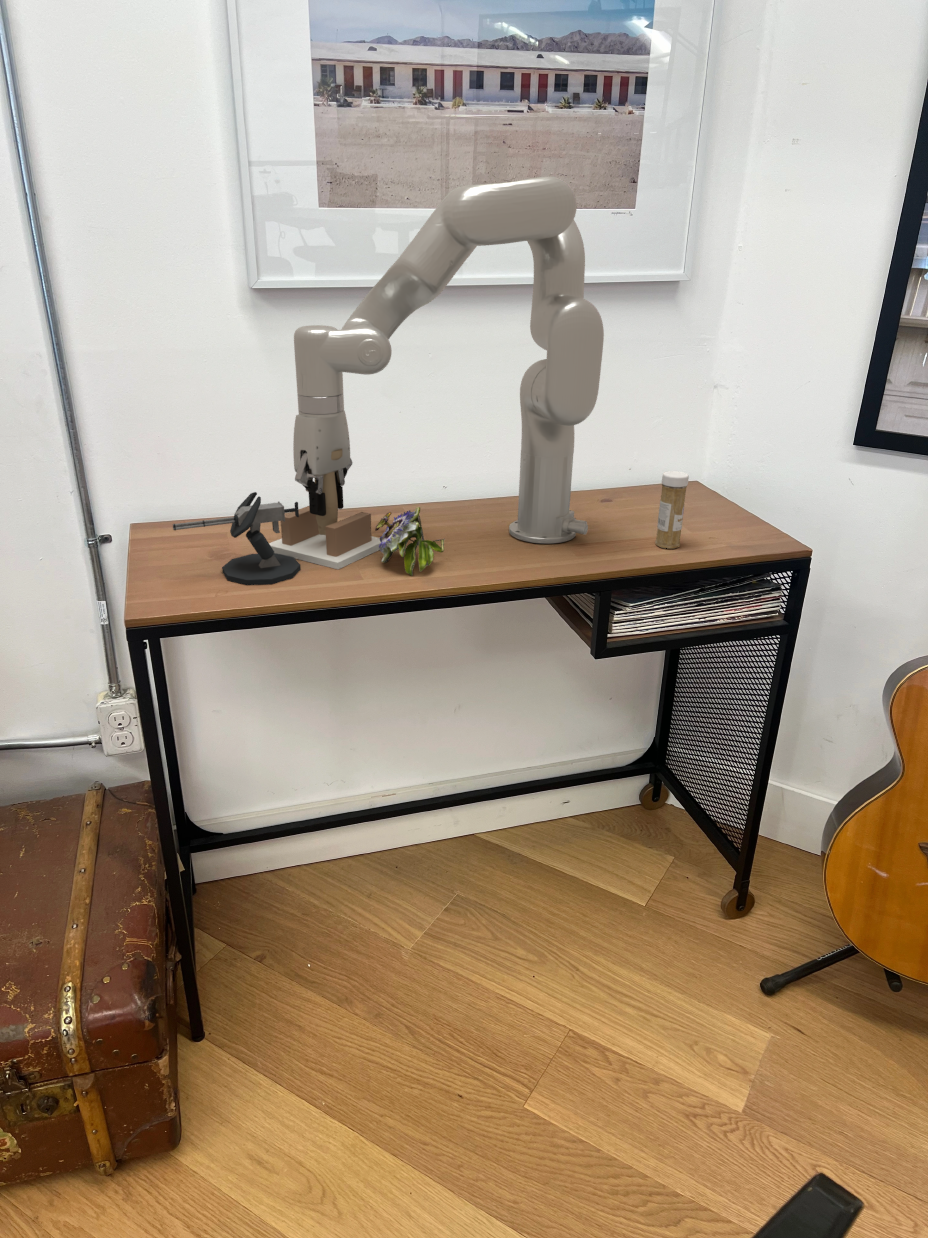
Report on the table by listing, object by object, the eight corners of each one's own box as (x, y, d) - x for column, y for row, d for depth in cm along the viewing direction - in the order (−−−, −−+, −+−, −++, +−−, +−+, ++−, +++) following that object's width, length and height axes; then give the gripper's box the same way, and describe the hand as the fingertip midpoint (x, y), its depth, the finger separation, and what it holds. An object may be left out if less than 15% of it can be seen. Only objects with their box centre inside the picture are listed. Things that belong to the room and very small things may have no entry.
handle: (346, 536, 152) (343, 451, 146) (309, 538, 151) (304, 452, 145) (345, 528, 156) (341, 445, 150) (309, 529, 155) (303, 446, 149)
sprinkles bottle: (682, 549, 157) (692, 476, 152) (657, 549, 157) (666, 476, 152) (676, 541, 162) (685, 470, 156) (651, 541, 161) (659, 469, 156)
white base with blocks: (387, 546, 156) (386, 512, 154) (338, 569, 145) (336, 534, 143) (318, 529, 164) (316, 497, 161) (266, 551, 153) (263, 517, 150)
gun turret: (174, 570, 144) (164, 494, 139) (292, 553, 152) (287, 481, 147) (188, 597, 134) (178, 516, 128) (314, 578, 142) (310, 501, 136)
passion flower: (387, 592, 151) (369, 527, 153) (447, 576, 152) (429, 512, 154) (388, 578, 140) (369, 508, 141) (453, 561, 141) (433, 492, 143)
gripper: (335, 394, 152) (340, 496, 160) (269, 410, 139) (277, 519, 147) (369, 399, 149) (373, 502, 156) (305, 415, 136) (312, 527, 143)
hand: (326, 509), depth 152 cm, fingers closed on handle, 4 cm apart
